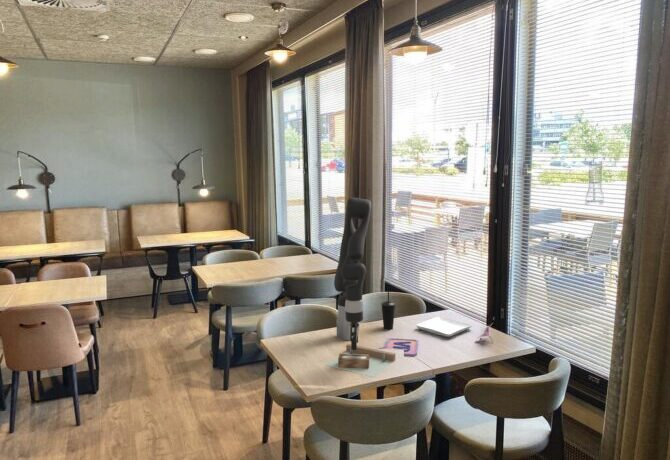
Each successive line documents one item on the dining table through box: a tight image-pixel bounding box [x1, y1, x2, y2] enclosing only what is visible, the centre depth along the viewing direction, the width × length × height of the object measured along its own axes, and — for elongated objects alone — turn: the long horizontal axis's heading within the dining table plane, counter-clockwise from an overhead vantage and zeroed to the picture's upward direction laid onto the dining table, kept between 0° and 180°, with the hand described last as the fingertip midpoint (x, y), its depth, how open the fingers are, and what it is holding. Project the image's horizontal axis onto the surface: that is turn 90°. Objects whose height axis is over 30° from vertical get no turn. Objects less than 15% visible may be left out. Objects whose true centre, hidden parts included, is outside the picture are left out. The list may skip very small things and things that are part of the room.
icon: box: [374, 337, 419, 357], centre depth 243 cm, size 19×2×20 cm
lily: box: [475, 322, 494, 342], centre depth 248 cm, size 12×12×10 cm
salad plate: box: [415, 315, 473, 338], centre depth 265 cm, size 21×21×3 cm
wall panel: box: [325, 343, 396, 378], centre depth 223 cm, size 24×20×4 cm
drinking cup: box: [380, 290, 397, 331], centre depth 268 cm, size 8×8×20 cm
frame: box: [337, 353, 369, 369], centre depth 220 cm, size 13×6×4 cm, turn 83°
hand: (354, 346), depth 219 cm, fingers open, 8 cm apart
